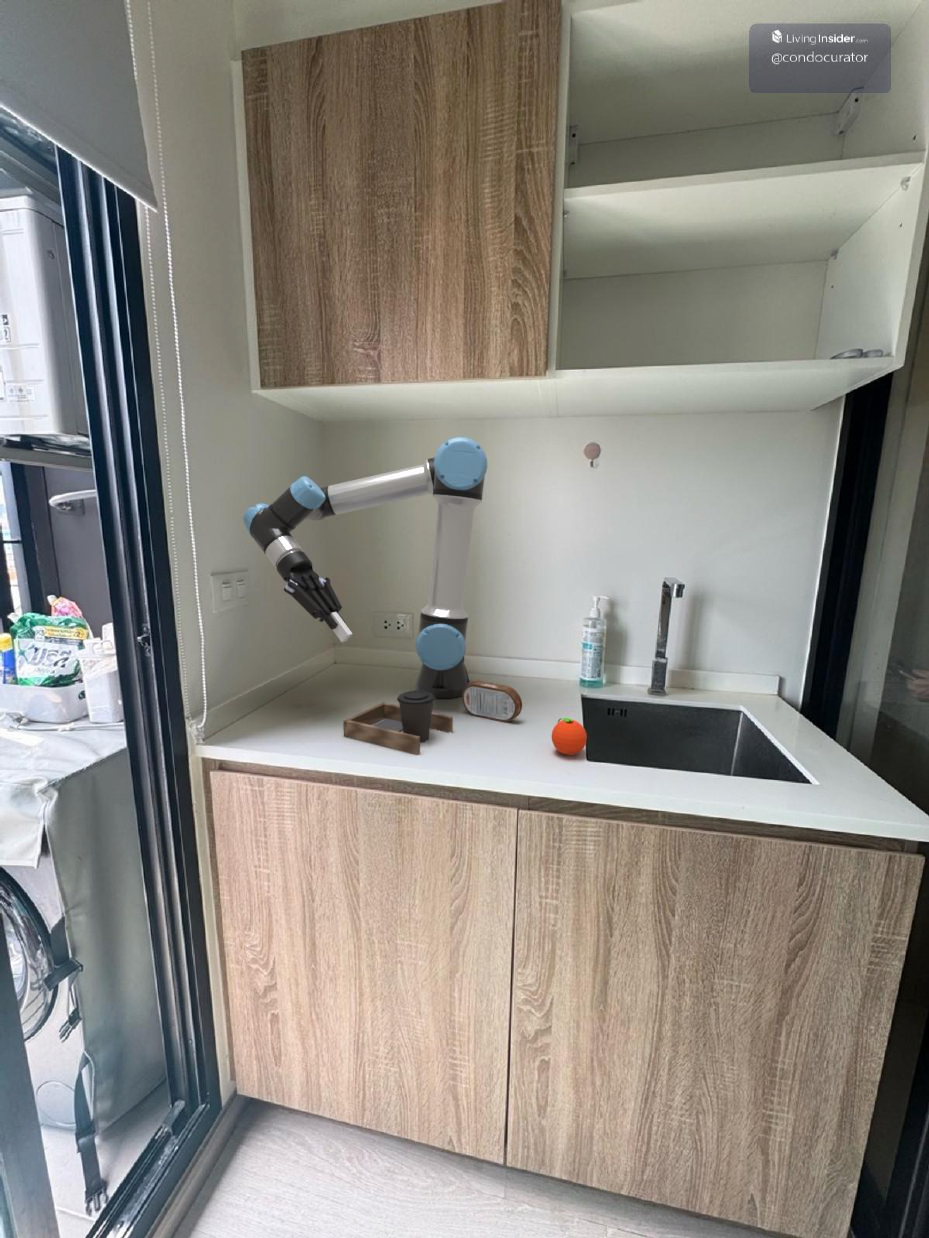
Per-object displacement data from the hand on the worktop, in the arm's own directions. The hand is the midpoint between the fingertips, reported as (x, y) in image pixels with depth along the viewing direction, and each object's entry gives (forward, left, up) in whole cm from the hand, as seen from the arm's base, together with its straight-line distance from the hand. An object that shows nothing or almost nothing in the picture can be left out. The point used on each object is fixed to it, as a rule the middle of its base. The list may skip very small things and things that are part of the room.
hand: (347, 637), depth 118 cm
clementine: (-27, +42, -20) cm, 54 cm away
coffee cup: (-7, +17, -20) cm, 27 cm away
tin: (-28, +18, -20) cm, 39 cm away
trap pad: (-4, +9, -20) cm, 22 cm away
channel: (-5, +13, -20) cm, 24 cm away
